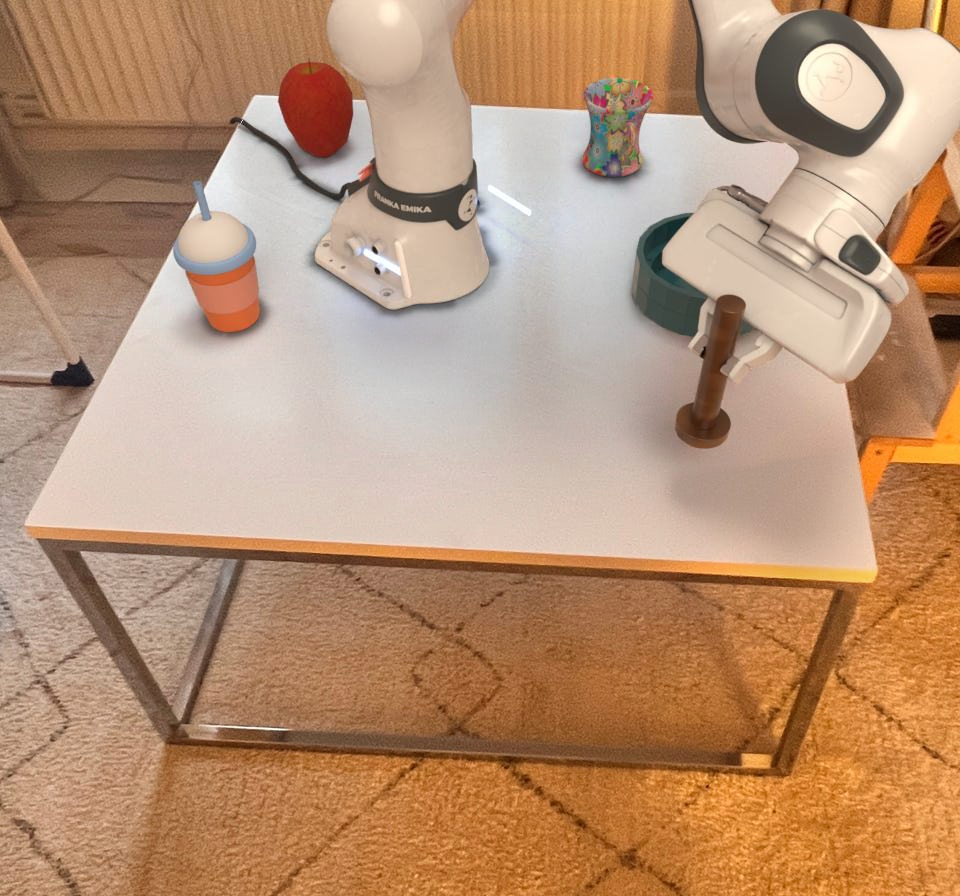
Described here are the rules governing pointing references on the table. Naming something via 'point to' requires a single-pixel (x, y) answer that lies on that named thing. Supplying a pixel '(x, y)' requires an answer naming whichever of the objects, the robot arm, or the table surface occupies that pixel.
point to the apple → (316, 107)
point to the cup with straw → (220, 266)
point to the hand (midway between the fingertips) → (712, 366)
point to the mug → (615, 125)
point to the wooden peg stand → (712, 380)
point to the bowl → (666, 283)
